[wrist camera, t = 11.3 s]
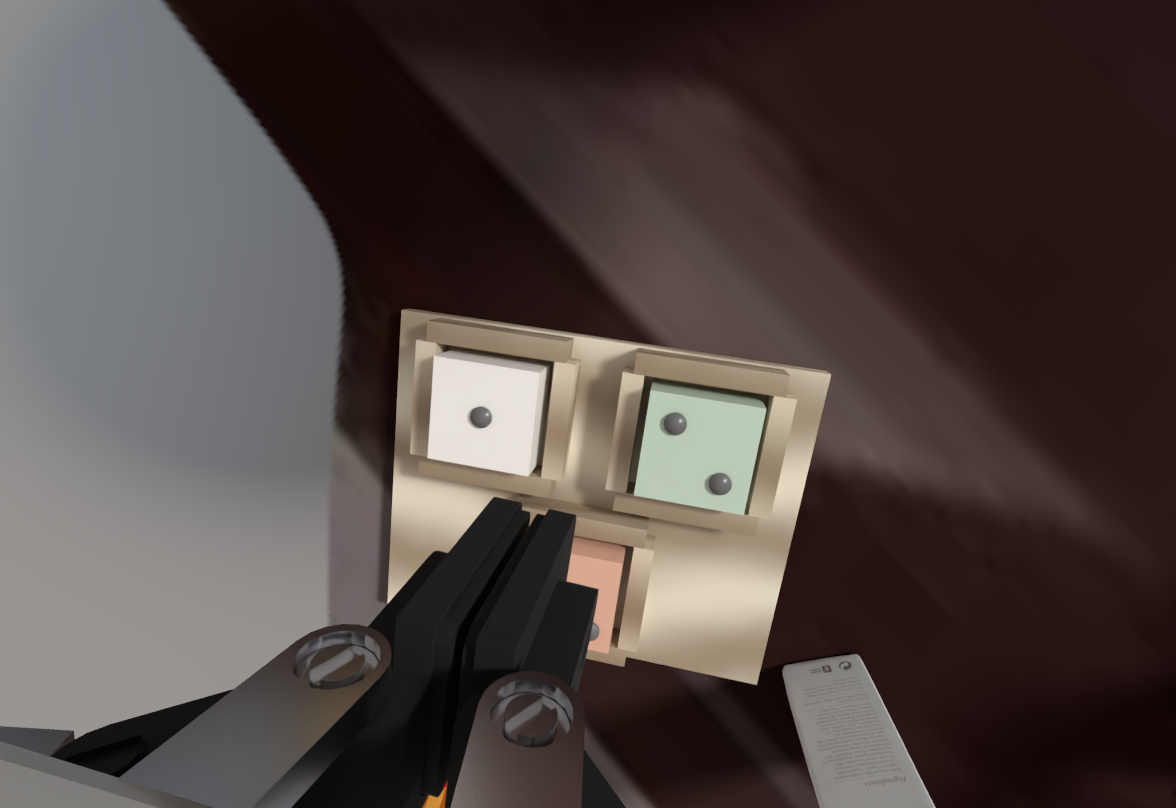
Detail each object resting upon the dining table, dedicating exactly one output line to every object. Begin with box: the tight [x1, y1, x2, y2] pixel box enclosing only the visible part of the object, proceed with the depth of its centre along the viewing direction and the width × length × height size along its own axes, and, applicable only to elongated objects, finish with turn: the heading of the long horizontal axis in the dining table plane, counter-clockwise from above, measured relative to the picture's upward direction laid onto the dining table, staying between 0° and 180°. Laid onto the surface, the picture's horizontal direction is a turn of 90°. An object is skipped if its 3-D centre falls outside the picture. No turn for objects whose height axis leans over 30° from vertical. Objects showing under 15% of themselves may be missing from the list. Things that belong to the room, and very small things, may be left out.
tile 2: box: [634, 380, 767, 515], centre depth 26 cm, size 5×5×3 cm
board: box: [387, 309, 831, 685], centre depth 29 cm, size 17×21×3 cm
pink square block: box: [567, 535, 626, 654], centre depth 29 cm, size 5×5×3 cm
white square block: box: [427, 349, 551, 476], centre depth 28 cm, size 5×5×3 cm
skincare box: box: [782, 654, 935, 808], centre depth 25 cm, size 6×4×12 cm
